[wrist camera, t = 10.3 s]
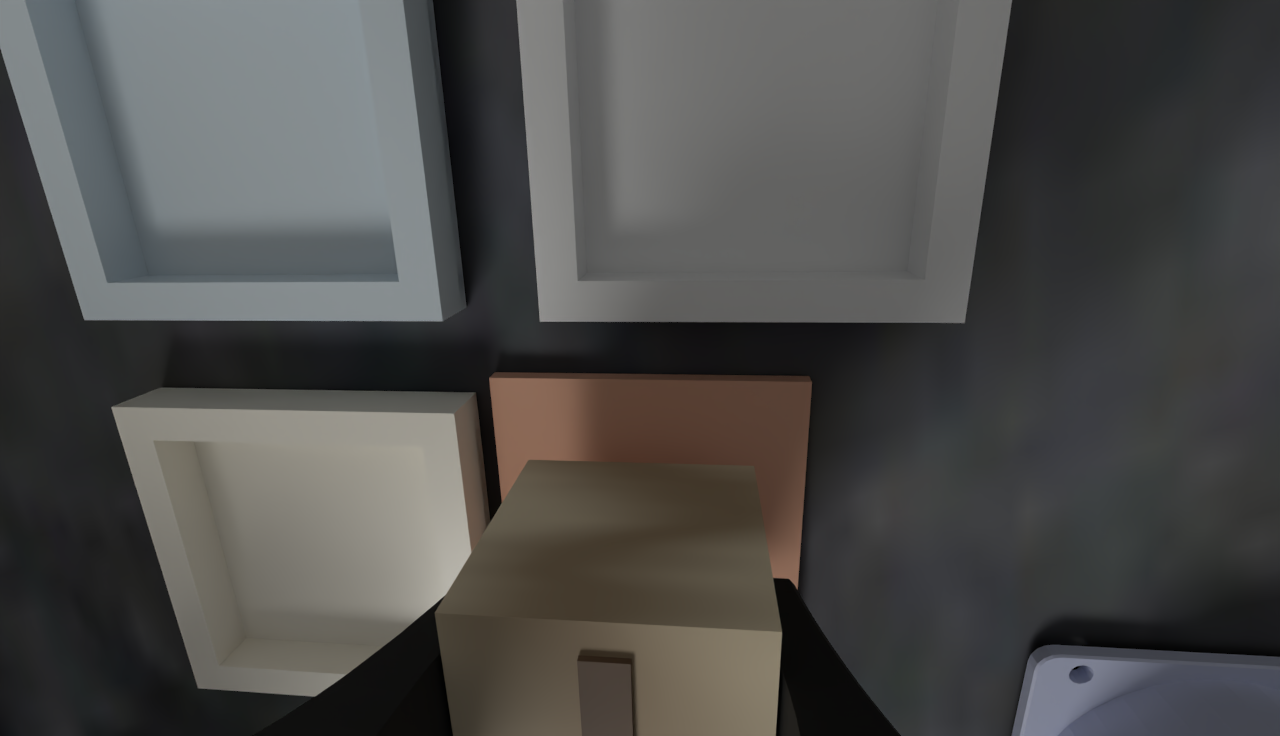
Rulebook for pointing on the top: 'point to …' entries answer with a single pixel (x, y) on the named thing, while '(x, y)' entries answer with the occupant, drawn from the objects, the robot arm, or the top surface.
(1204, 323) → the top surface
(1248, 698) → the robot arm
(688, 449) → the terracotta mat
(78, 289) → the blue-grey tray
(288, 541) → the cream tray
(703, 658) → the letter cube
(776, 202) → the grey tray
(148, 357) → the top surface
